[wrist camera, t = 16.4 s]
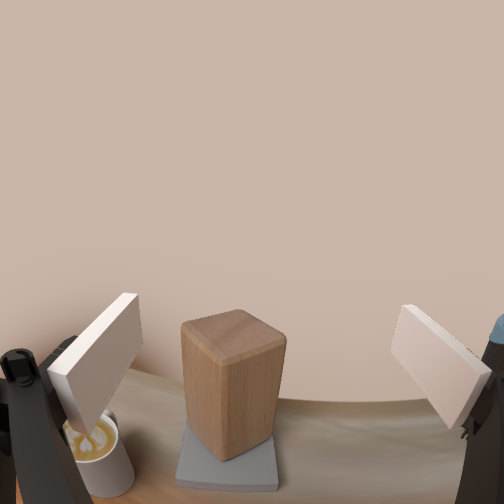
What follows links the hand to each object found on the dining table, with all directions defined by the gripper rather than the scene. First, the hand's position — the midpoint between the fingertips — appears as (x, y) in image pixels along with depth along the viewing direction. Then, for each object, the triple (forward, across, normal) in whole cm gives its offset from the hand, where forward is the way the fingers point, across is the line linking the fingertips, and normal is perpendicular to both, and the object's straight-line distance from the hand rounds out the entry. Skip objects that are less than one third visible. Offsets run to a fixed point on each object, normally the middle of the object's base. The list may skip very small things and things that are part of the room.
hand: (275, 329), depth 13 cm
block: (+19, -2, -30) cm, 36 cm away
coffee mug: (+9, -20, -33) cm, 40 cm away
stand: (+16, -2, -33) cm, 36 cm away
